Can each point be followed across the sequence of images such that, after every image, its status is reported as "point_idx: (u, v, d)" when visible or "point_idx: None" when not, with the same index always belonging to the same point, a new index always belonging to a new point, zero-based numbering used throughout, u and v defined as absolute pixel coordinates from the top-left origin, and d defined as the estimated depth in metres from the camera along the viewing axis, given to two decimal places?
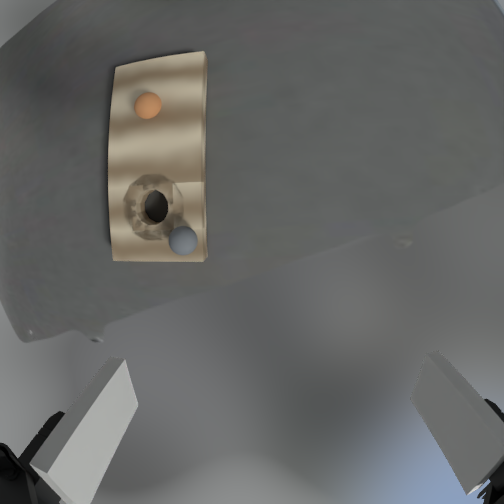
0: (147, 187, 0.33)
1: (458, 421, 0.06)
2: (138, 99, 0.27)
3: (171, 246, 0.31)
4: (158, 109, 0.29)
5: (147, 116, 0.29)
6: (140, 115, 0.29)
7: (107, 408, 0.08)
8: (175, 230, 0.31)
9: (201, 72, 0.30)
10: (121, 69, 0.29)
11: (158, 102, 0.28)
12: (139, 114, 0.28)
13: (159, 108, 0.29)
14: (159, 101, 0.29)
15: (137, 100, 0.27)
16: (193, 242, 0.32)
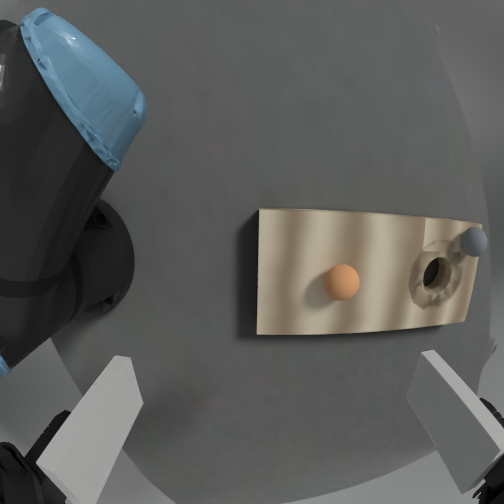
0: (420, 280, 0.27)
1: (453, 420, 0.07)
2: (340, 294, 0.24)
3: (482, 253, 0.23)
4: (351, 267, 0.25)
5: (359, 281, 0.25)
6: None
7: (113, 406, 0.08)
8: (471, 248, 0.24)
9: (295, 212, 0.26)
10: (263, 325, 0.29)
11: (346, 268, 0.25)
12: (356, 292, 0.25)
13: (349, 266, 0.25)
14: (342, 266, 0.25)
15: (341, 296, 0.24)
16: (481, 230, 0.23)
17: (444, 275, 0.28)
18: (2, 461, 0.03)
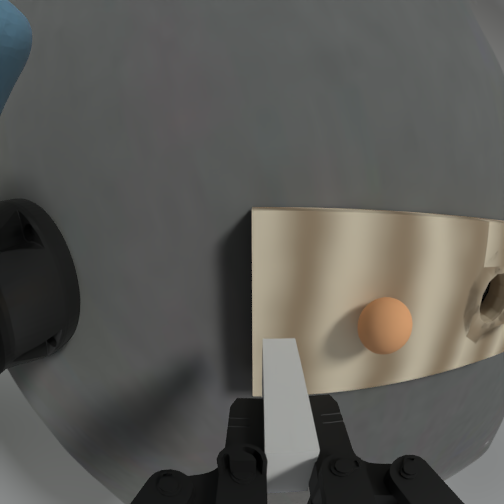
0: (477, 307, 0.17)
1: None
2: (385, 349, 0.14)
3: None
4: (401, 302, 0.14)
5: None
6: None
7: None
8: None
9: (313, 214, 0.15)
10: None
11: (395, 305, 0.14)
12: None
13: (398, 300, 0.15)
14: (390, 302, 0.14)
15: (386, 350, 0.14)
16: None
17: (498, 295, 0.18)
18: (234, 464, 0.05)
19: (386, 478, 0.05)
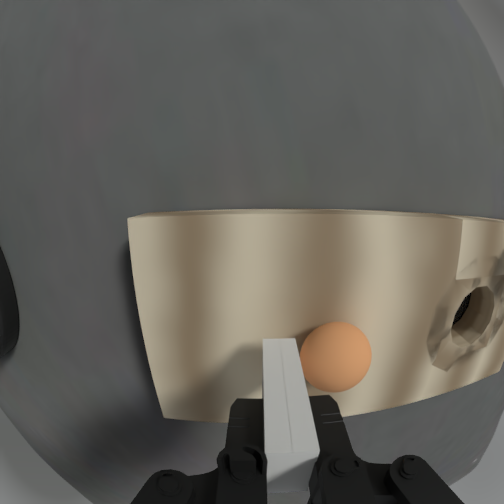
0: (447, 330, 0.14)
1: None
2: None
3: None
4: (346, 323, 0.12)
5: None
6: None
7: None
8: None
9: (194, 218, 0.13)
10: (170, 408, 0.15)
11: (354, 330, 0.12)
12: None
13: (343, 322, 0.12)
14: (348, 330, 0.11)
15: None
16: None
17: (480, 311, 0.15)
18: (234, 464, 0.05)
19: (386, 478, 0.05)
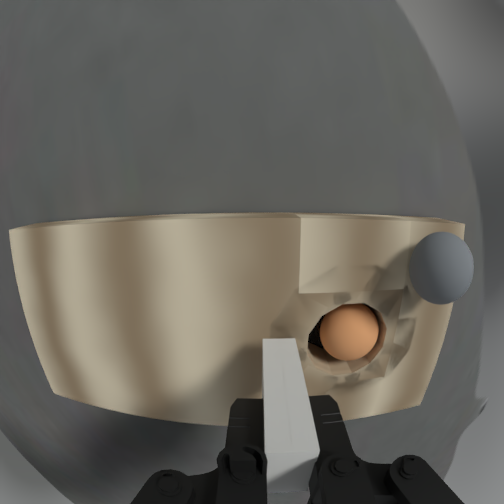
0: (300, 352, 0.14)
1: None
2: None
3: (458, 297, 0.10)
4: None
5: None
6: None
7: None
8: (428, 287, 0.10)
9: (39, 229, 0.13)
10: (55, 385, 0.15)
11: None
12: None
13: None
14: None
15: None
16: (458, 242, 0.10)
17: None
18: (234, 465, 0.05)
19: (386, 478, 0.05)
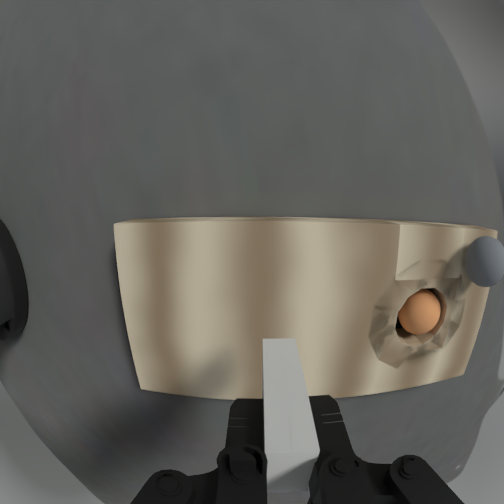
0: (391, 327, 0.17)
1: None
2: None
3: (497, 281, 0.13)
4: None
5: None
6: None
7: None
8: (480, 274, 0.13)
9: (161, 224, 0.16)
10: (145, 380, 0.19)
11: None
12: None
13: None
14: (425, 289, 0.18)
15: None
16: (497, 243, 0.13)
17: None
18: (234, 464, 0.05)
19: (386, 478, 0.05)
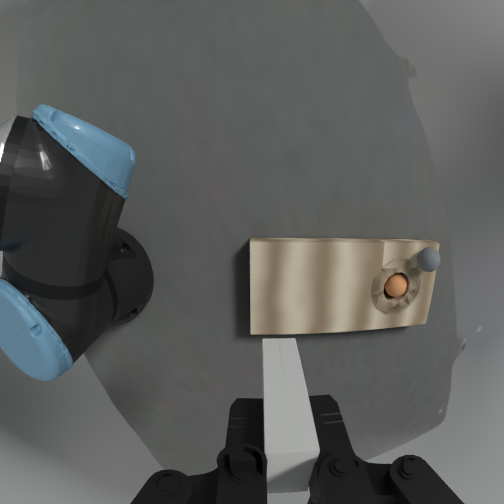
0: (381, 291, 0.36)
1: None
2: None
3: (435, 269, 0.32)
4: None
5: None
6: None
7: None
8: (424, 265, 0.32)
9: (277, 243, 0.35)
10: (255, 327, 0.38)
11: None
12: None
13: None
14: None
15: None
16: (434, 250, 0.32)
17: None
18: (234, 464, 0.05)
19: (386, 478, 0.05)
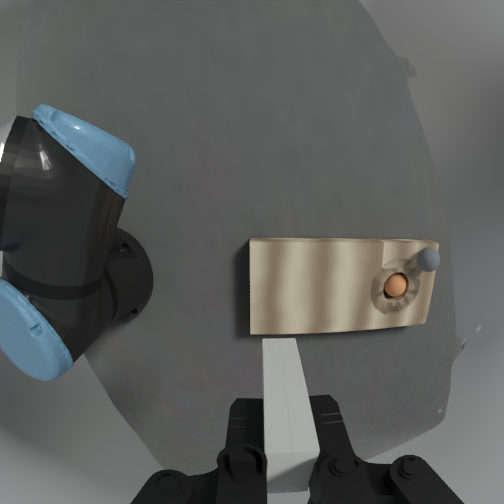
0: (380, 291, 0.36)
1: None
2: None
3: (434, 269, 0.32)
4: None
5: None
6: None
7: None
8: (424, 265, 0.33)
9: (277, 243, 0.35)
10: (255, 327, 0.38)
11: (397, 273, 0.37)
12: None
13: None
14: None
15: None
16: (433, 250, 0.32)
17: None
18: (234, 464, 0.05)
19: (386, 478, 0.05)
